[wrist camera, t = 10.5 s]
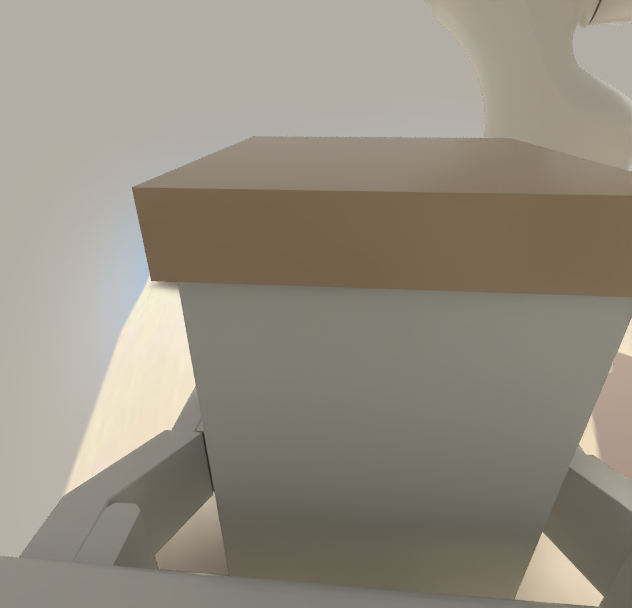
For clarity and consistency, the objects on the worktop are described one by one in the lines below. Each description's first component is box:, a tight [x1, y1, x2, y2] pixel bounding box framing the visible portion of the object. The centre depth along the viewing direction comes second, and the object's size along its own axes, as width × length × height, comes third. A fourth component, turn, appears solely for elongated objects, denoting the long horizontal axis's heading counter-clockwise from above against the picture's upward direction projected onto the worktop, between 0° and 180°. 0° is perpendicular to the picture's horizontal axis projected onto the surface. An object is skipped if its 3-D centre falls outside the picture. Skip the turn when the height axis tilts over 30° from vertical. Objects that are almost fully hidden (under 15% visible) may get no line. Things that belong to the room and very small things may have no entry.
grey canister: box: [132, 137, 632, 600], centre depth 9 cm, size 5×5×12 cm
